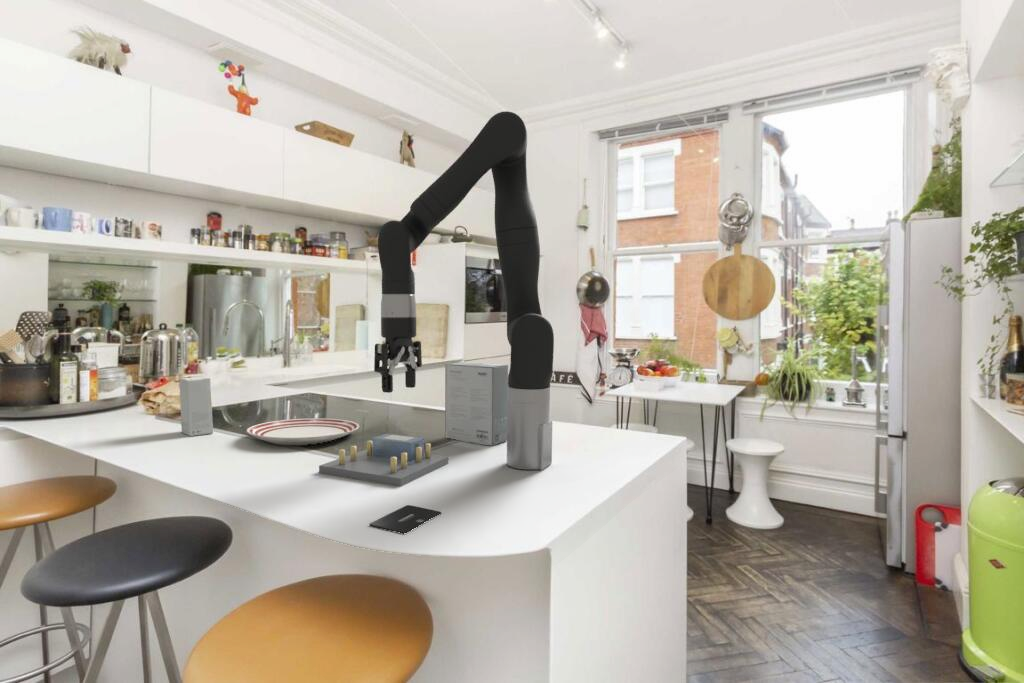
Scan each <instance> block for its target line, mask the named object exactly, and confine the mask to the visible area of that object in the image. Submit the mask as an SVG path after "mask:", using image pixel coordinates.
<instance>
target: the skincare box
mask: <svg viewBox="0 0 1024 683" xmlns="http://www.w3.org/2000/svg"><path fill="white" fill-rule="evenodd" d="M178 383H179V404H180V422H181V432H182V434H183V433H184V434H186V435H187V436H189V437H194V436H202V435H212V434H213V433H214V426H213V405H212V404H213V403H212V390H211V388H212V387H211V378H210V377H205V376H193V377H182V378H181V377H180V378H178Z"/></svg>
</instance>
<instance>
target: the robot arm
mask: <svg viewBox="0 0 1024 683" xmlns="http://www.w3.org/2000/svg"><path fill="white" fill-rule="evenodd" d="M527 147H528V130H527V125H526V123H525V120H523V118H522V117H521V116H520V115H519V114H517V113H516V112H513V111H507V110H506V111H500V112H497V113H496V114H493V116H491V117H490V118H489V120H488V121H487V122H486V123H485V125H484V126H483V127H482V129H481V130H480V131H479V133H478V134H477V135H476V136H475V138H474V139H473V140H472V142H470V144H469V145H468V146H467V148H466V149H465V150H464V151H463V152H462V154H460V155H459V157H458V158H457V159H456V160H455V161H454V162H453V163H452V164H451V165H450V166H449V167H448V168H447V169H446V170H445V171H444V172H443V173H442V174H441V175H440V176H439V177H438V178H437V179H436V180H435V181H434V182H432V184H430V185H429V186H427V188H426V189H425V190H424V191H423V192H422V193H421V194H420V195H419V196H417V197H416V198H415V199H414V201H413V202H411V204H410V208H409V211H408V213H406V214H405V216H403V218H402V219H400V221H399V220H389V221H387V222H385V223H383V225H382V226H381V227H380V229H379V231H378V235H377V249H378V251H377V252H378V256H379V263H380V269H381V300H380V301H381V302H380V325H381V326H380V333H381V334H380V335H381V337H382V338H384V339H385V342H384V343H376V344H374V359H373V360H374V367H373V368H374V370H373V371H374V373H379V374H380V375H381V390H382V392H383V393H388V394H391V393H393V391H394V390H393V389H394V382H393V381H394V378H393V372H394V370H395V368H396V367H398V365H399V363H401V364H402V365H403V366H404V369H405V374H404V375H405V378H404V380H405V381H404V383H405V387H406V388H407V389H409V388H410V389H412V388H413V389H414V388H416V382H417V380H416V377H417V376H416V371H417V370H418V368H421V367H422V365H423V362H422V359H423V358H422V342H421V341H420V340H413V338H416V336H417V301H416V286H415V285H416V282H415V280H416V279H415V272H414V270H413V268H412V259H411V258H412V257H411V256H412V255H411V254H412V253H413V252H415V251H416V250H417V249H418V248H419V247H420V246H421V244H422V243H423V242H424V241H425V240H426V239H427V238H428V236H429V235H430V234H431V232H432V231H433V230H434V229H435V228H436V227H437V226H439V225H440V223H441V222H442V221H444V220H445V219H446V218H447V217H448V216H449V215H450V214H451V213H452V212H453V211H454V210H455V209H456V208H457V207H458V206H459V205H460V204H461V203H462V201H463V200H464V199H465V198H466V197H467V195H468V194H469V192H470V191H471V190H472V189H473V188H474V186H475V185H476V184H477V183H478V182H479V180H481V178H483V176H485V174H486V173H488V172H489V171H490V170H491V174H492V179H493V185H494V186H493V187H494V231H495V241H496V248H497V249H496V250H497V255H498V261H499V267H500V272H501V276H502V282H503V286H504V292H505V301H506V338H507V341H508V343H509V345H510V366H509V370H508V418H507V441H506V464H507V466H509V467H510V468H513V469H519V470H541V471H542V470H544V469H546V468H548V466H550V465H551V464H552V460H553V421H552V420H550V413H551V412H550V408H551V407H550V405H551V404H550V403H551V402H550V400H551V399H550V398H551V379H552V375H553V368H554V351H555V350H554V348H555V347H554V346H555V336H554V329H553V327H552V325H551V323H550V321H549V320H548V319H547V318H546V317H544V316H543V314H542V310H541V304H540V299H539V288H538V285H539V274H540V261H541V260H540V259H541V249H540V248H541V246H540V238H539V231H538V230H539V229H538V222H537V217H536V211H535V209H534V204H533V200H532V197H531V194H530V191H529V184H528V174H527Z"/></svg>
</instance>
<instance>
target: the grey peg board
mask: <svg viewBox="0 0 1024 683" xmlns="http://www.w3.org/2000/svg"><path fill="white" fill-rule="evenodd" d="M357 450H358V449H357V445H350V454H348V455H346V449H343V448H342V449H339V450H338V459H335V460H331V461H328V462H325V463H322V464H319V465H318V472H319V474H324V475H329V476H336V477H341V478H342V477H343V478H349V479H353V480H354V479H356V480H360V481H366V482H367V481H368V482H373V483H378V484H379V483H380V484H385V485H386V484H387V485H391V486H396V487H402V486H405V485H406V484H409V483H411V482H413V481H415V480H417V479H419V478H421V477H423V476H426V475H427V474H429V473H433V471H435V470H439V469H440V468H441V467H444V466H446V465H448V464H449V456H447V455H446V456H445V455H440V454H439V455H438V454H433V453H431V452H432V444H431V442H430V443H427V442H426V443H424V456H423V457H422V447H416V460H414V461H407V453H401V460H397V457H391V459H390V458H383V457H376V456H373V440H367V441H366V449H364V450H363V449H362V450H361V451H357Z"/></svg>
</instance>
